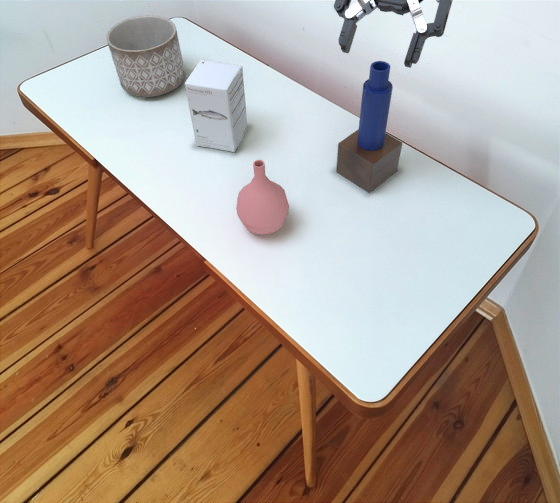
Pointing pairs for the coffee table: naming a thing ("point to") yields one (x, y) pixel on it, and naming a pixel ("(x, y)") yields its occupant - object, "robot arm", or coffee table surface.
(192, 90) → the white packaging box
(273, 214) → the pink bud vase
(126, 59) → the planter
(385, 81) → the bottle
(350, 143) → the block
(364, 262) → the coffee table surface
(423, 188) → the coffee table surface
